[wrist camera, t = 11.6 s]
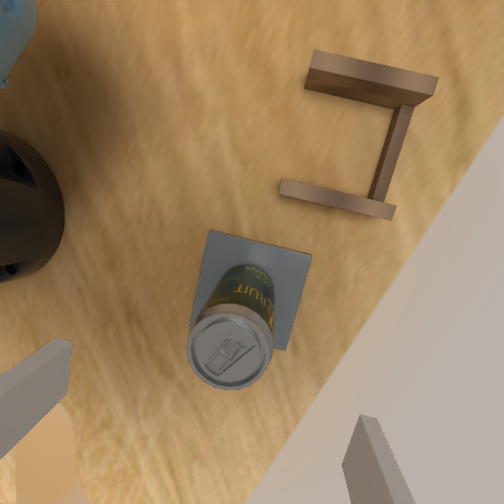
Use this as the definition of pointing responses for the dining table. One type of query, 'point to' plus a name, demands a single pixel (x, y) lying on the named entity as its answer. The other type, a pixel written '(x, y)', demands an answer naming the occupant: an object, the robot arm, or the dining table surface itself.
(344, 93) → the rack
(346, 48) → the dining table surface
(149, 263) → the dining table surface
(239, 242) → the coaster
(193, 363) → the beer can
